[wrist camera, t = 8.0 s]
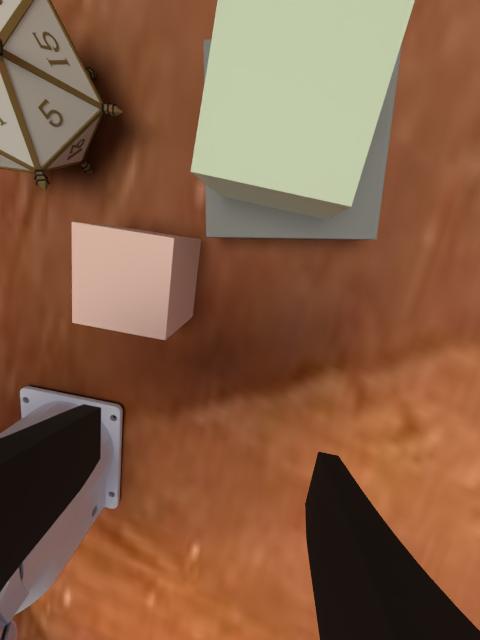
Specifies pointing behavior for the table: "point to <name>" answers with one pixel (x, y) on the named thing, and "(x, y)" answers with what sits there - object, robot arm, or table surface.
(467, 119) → the table surface
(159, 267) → the rose cube
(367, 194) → the base block
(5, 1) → the game die
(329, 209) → the sage cube
